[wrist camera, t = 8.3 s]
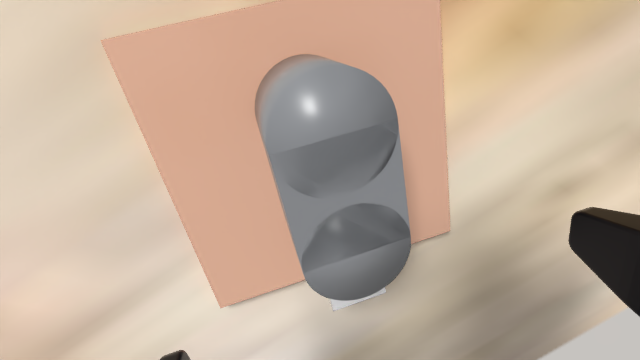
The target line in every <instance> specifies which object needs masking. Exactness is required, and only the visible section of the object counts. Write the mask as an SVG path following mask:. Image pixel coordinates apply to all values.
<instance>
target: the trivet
mask: <svg viewBox="0 0 640 360" xmlns="http://www.w3.org/2000/svg"><path fill="white" fill-rule="evenodd" d="M101 43H102V45H103V47H104V49H105V51H106V54H107V56H108V58H109V60H110V63H111V65H112V67H113V69H114V72H115V74H116V76H117V78H118V80H119V83H120V85H121V87H122V89H123V92H124V94H125V96H126V98H127V101H128V103H129V105H130V107H131V109H132V112H133V114H134V116H135V118H136V121H137V123H138V125H139V127H140V130H141V132H142V134H143V136H144V138H145V141H146V143H147V145H148V147H149V150H150V152H151V154H152V156H153V158H154V161H155V163H156V165H157V167H158V170H159V172H160V174H161V176H162V179H163V181H164V183H165V185H166V187H167V190H168V192H169V194H170V196H171V199H172V201H173V203H174V205H175V208H176V210H177V212H178V214H179V216H180V219H181V221H182V223H183V225H184V228H185V230H186V232H187V234H188V237H189V239H190V241H191V243H192V245H193V248H194V250H195V252H196V254H197V257H198V259H199V261H200V263H201V266H202V268H203V270H204V272H205V274H206V277H207V279H208V281H209V283H210V286H211V288H212V290H213V292H214V295H215V297H216V299H217V301H218V303H219V306H220V308H223V307H226V306H229V305H232V304H235V303H238V302H241V301H244V300H246V299H249V298H252V297H255V296H258V295H261V294H264V293H267V292H270V291H273V290H276V289H279V288H282V287H285V286H288V285H291V284H294V283H297V282H300V281H303V280H306V279H305V277H304V275H303V272H302V269H301V266H300V262H299V259H298V256H297V253H296V250H295V247H294V244H293V241H292V238H291V235H290V231H289V228H288V225H287V222H286V219H285V216H284V212H283V209H282V206H281V202H280V199H279V195H278V192H277V189H276V185H275V182H274V178H273V175H272V172H271V168H270V165H269V162H268V158H267V155H266V151H265V148H264V145H263V141H262V138H261V134H260V131H259V128H258V124H257V121H256V116H255V98H256V93H257V90H258V87H259V85H260V83H261V81H262V79H263V78H264V76H265V75H266V74H267V72H268V71H269V70H270V69H271V68H272V67H273V66H275V65H276V64H277V63H279V62H280V61H282V60H284V59H286V58H288V57H291V56H294V55H300V54H312V55H318V56H322V57H325V58H328V59H331V60H334V61H337V62H340V63H343V64H346V65H349V66H352V67H355V68H358V69H360V70H363V71H365V72H367V73H369V74H370V75H372V76H374V77H375V78H376V79H377V80H378V81H380V82H381V84H382V85H383V86H384V87H385V88H386V89H387V91H388V92H389V94H390V96H391V98H392V100H393V102H394V105H395V108H396V111H397V117H398V124H399V134H400V143H401V152H402V161H403V170H404V179H405V188H406V198H407V207H408V216H409V225H410V234H411V244H413V243H416V242H419V241H422V240H425V239H428V238H431V237H434V236H437V235H440V234H443V233H446V232H449V231H450V212H449V190H448V168H447V146H446V124H445V102H444V80H443V58H442V36H441V14H440V0H280V1H275V2H271V3H266V4H262V5H257V6H253V7H248V8H244V9H239V10H235V11H230V12H226V13H221V14H217V15H212V16H208V17H203V18H199V19H194V20H190V21H185V22H181V23H176V24H172V25H167V26H163V27H158V28H154V29H149V30H145V31H140V32H136V33H131V34H127V35H122V36H118V37H113V38H109V39H104V40H101Z"/></svg>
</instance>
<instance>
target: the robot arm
mask: <svg viewBox="0 0 640 360" xmlns="http://www.w3.org/2000/svg"><path fill="white" fill-rule="evenodd" d="M569 245H570V247H571V249H572V250H573V251H574V252H575V254H576V255H577V256H578V257H579V258H580V259H581V260H582V261H583V262H584V263H585V264H586V265H587V266H588V267H589V268H590V269H591V270H592V271H593V272H594V273H595V274H596V275H597V276H598V277H599V278H600V279H601V280H602V281H603V282H604V283H605V284H606V285H607V286H608V287H609V288H610V289H611V290H612V291H613V292H614V293H615V294H616V295H617V296H618V297H619V298H620V299H621V300H622V301H623V302H624V303H625V304H626V305H627V306H628V307H629V308H630V309H632V310H633V311H634V312H635V313H636V314H637V315H638V316H640V215H636V214H630V213H624V212H619V211H613V210H607V209H602V208H596V207H589V208H586V209H583V210H580V211H577V212H575V213H574V214H573V216H572V219H571V226H570V233H569ZM160 360H190V358H189V356H188V354H187V353H186V352H185V351H184V350H179V351H176V352H173V353H170V354H167V355H165V356H163V357H162V358H161V359H160Z"/></svg>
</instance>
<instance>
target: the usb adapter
mask: <svg viewBox="0 0 640 360" xmlns="http://www.w3.org/2000/svg"><path fill="white" fill-rule="evenodd" d="M255 116H256V121H257V124H258V128H259V131H260V134H261V138H262V141H263V145H264V148H265V151H266V155H267V158H268V162H269V165H270V168H271V172H272V175H273V178H274V182H275V185H276V189H277V192H278V195H279V199H280V202H281V206H282V209H283V212H284V216H285V219H286V222H287V225H288V228H289V231H290V235H291V238H292V241H293V244H294V247H295V250H296V253H297V256H298V259H299V262H300V266H301V269H302V272H303V275H304V277H305V279H306V281H307V283H308V284H309V286H310V287H311V288H312V289H313V290H314V291H316V292H317V293H318V294H320V295H322V296H324V297H326V298H328V299H329V301H330V304H331V307H332V309H333V311H335V310H338V309H341V308H344V307H347V306H350V305H352V304H355V303H358V302H361V301H364V300H366V299H369V298H372V297H375V296H378V295H381V294H383V293H386V290H385V287H386V286H387V285H388V284H389V283H391V282H392V281H393V280H394V279H395V278H396V276H397V275H398V274H399V273H400V271H401V270H402V268H403V267H404V265H405V263H406V261H407V259H408V256H409V253H410V248H411V234H410V225H409V216H408V207H407V198H406V188H405V179H404V170H403V161H402V152H401V143H400V134H399V124H398V117H397V111H396V108H395V105H394V102H393V100H392V98H391V96H390V94H389V92H388V91H387V89H386V88H385V87H384V86H383V85H382V84H381V82H380V81H378V80H377V79H376V78H375V77H374V76H372V75H370V74H369V73H367V72H365V71H363V70H360V69H358V68H355V67H352V66H349V65H346V64H343V63H340V62H337V61H334V60H331V59H328V58H325V57H322V56H318V55H312V54H300V55H294V56H291V57H288V58H286V59H284V60H282V61H280V62H279V63H277V64H276V65H275V66H273V67H272V68H271V69H270V70H269V71H268V72H267V74H266V75H265V76H264V78H263V79H262V81H261V83H260V85H259V87H258V90H257V93H256V98H255Z"/></svg>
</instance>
